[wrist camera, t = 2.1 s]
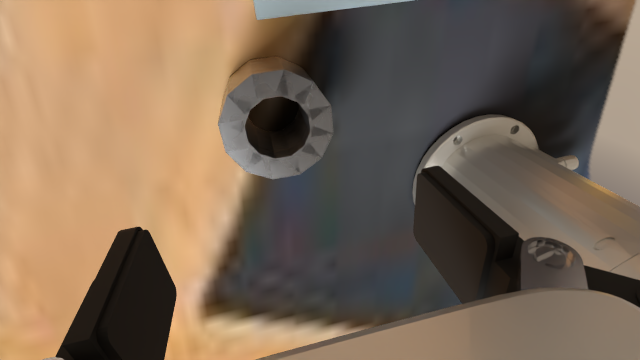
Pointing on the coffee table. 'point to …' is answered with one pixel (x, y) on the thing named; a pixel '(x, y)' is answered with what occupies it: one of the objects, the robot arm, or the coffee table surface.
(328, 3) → the post board
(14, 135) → the coffee table surface
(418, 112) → the coffee table surface
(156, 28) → the coffee table surface
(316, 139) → the steel collar
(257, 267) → the coffee table surface
